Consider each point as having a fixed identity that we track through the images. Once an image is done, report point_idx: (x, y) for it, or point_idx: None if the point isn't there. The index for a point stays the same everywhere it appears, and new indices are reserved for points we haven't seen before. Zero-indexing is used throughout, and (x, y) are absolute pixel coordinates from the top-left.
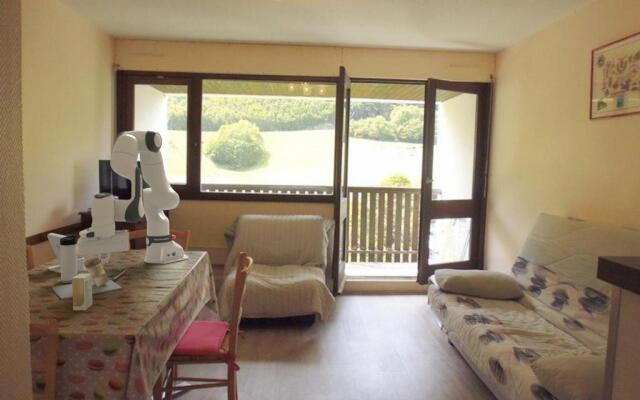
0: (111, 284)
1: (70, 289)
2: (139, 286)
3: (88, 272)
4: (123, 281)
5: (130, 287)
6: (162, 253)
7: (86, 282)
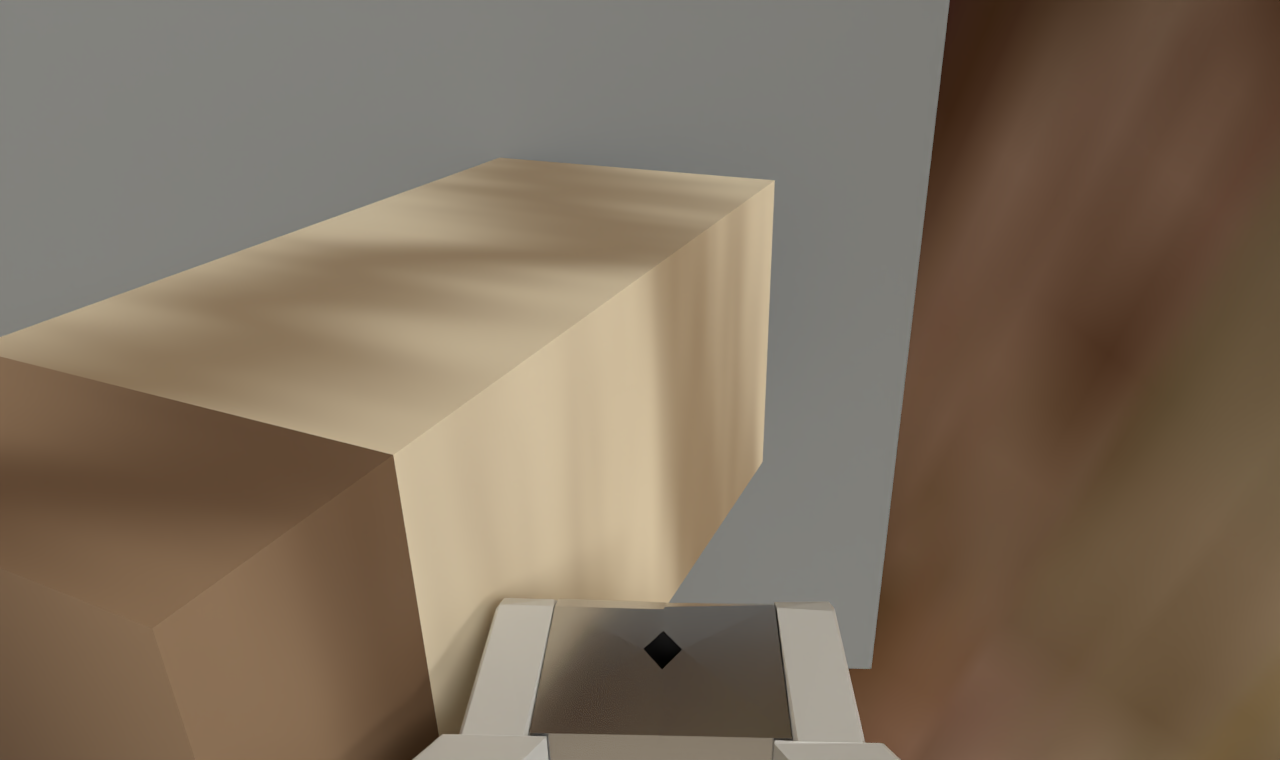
0: (800, 383)
1: (11, 254)
2: (1170, 677)
3: (222, 257)
4: (1152, 183)
5: (1024, 645)
6: None
7: None
